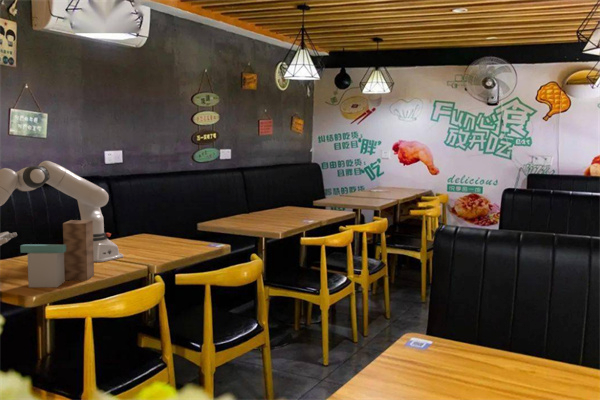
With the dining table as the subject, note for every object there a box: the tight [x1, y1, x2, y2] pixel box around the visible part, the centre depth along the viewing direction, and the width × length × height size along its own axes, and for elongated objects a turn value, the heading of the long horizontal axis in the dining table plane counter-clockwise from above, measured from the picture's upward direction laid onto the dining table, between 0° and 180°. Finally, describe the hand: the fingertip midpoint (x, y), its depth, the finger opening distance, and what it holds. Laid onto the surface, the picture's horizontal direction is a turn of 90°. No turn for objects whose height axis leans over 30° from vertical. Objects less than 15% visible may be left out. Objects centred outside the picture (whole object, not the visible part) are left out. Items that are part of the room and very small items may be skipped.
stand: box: [62, 219, 95, 282], centre depth 255 cm, size 10×10×26 cm
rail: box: [19, 243, 66, 254], centre depth 242 cm, size 18×4×3 cm, turn 94°
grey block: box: [26, 253, 66, 288], centre depth 243 cm, size 12×9×14 cm
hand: (11, 236), depth 241 cm, fingers open, 8 cm apart
